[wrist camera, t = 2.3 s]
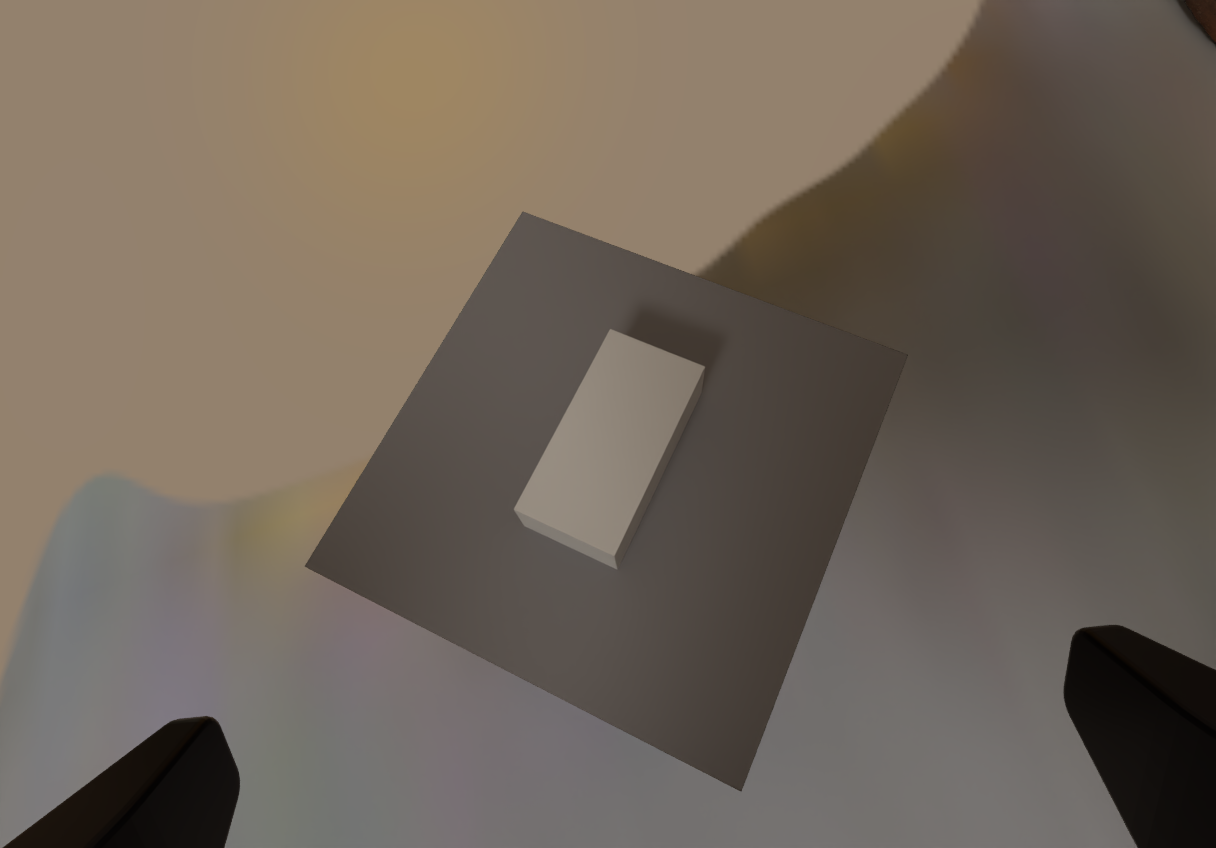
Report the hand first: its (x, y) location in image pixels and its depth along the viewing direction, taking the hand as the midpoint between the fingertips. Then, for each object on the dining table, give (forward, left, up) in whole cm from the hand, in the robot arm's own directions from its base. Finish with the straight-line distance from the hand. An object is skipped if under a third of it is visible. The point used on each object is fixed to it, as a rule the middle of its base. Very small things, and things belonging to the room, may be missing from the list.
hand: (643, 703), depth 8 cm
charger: (+2, +1, -10) cm, 10 cm away
